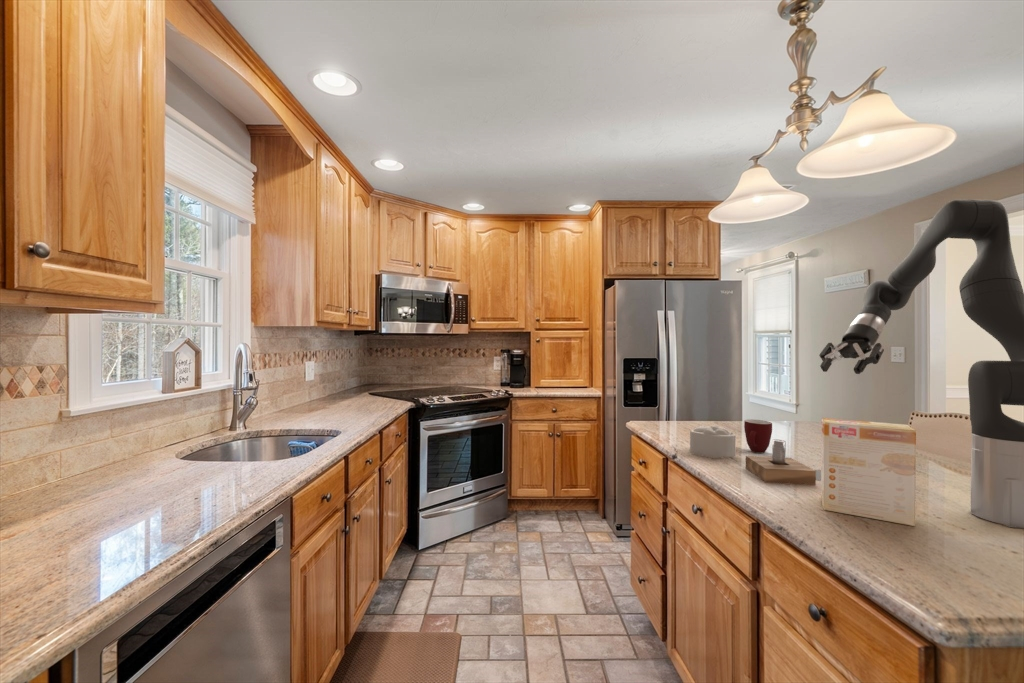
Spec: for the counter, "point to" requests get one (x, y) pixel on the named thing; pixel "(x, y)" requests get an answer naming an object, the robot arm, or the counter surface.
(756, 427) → the mug
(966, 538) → the counter surface
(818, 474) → the mat
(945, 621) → the counter surface
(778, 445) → the pin
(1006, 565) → the counter surface
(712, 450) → the lumpy-topped squat cylinder
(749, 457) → the hole block
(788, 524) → the counter surface
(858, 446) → the coffeecake box
